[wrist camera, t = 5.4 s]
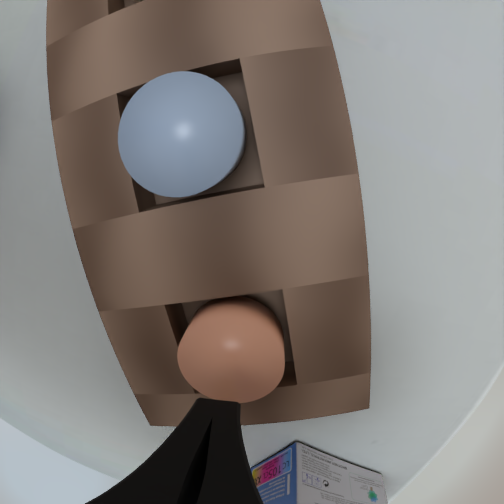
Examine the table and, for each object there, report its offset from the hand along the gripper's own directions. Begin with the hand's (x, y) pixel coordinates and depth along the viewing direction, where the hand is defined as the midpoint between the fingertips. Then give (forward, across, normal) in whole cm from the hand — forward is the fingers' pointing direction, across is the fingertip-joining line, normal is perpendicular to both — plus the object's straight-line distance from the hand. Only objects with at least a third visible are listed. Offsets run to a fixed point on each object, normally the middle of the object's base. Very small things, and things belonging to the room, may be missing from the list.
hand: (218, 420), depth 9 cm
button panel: (+7, +2, -9) cm, 11 cm away
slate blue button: (+5, +2, -9) cm, 10 cm away
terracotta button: (+5, 0, 0) cm, 5 cm away
